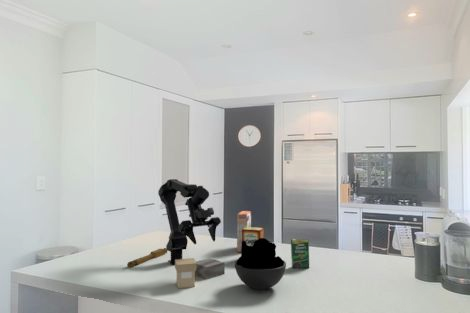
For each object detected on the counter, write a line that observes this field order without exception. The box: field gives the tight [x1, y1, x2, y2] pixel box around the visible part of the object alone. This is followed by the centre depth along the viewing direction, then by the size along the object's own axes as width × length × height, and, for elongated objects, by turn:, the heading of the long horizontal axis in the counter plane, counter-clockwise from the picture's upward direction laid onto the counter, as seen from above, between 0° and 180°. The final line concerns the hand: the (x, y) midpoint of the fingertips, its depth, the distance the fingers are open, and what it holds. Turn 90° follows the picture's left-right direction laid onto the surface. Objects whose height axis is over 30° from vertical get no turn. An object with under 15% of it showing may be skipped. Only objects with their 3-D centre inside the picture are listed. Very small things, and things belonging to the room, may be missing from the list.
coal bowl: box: [234, 237, 287, 291], centre depth 138 cm, size 20×20×19 cm
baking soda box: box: [242, 226, 265, 246], centre depth 178 cm, size 10×6×16 cm
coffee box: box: [290, 238, 310, 269], centre depth 164 cm, size 8×3×13 cm, turn 92°
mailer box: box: [176, 271, 196, 289], centre depth 142 cm, size 6×6×9 cm
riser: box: [195, 257, 226, 280], centre depth 155 cm, size 10×10×5 cm
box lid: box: [174, 258, 196, 274], centre depth 142 cm, size 8×8×3 cm
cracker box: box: [236, 210, 252, 253], centre depth 199 cm, size 14×6×21 cm, turn 168°
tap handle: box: [126, 247, 168, 269], centre depth 179 cm, size 3×3×30 cm
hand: (205, 242), depth 151 cm, fingers open, 9 cm apart
